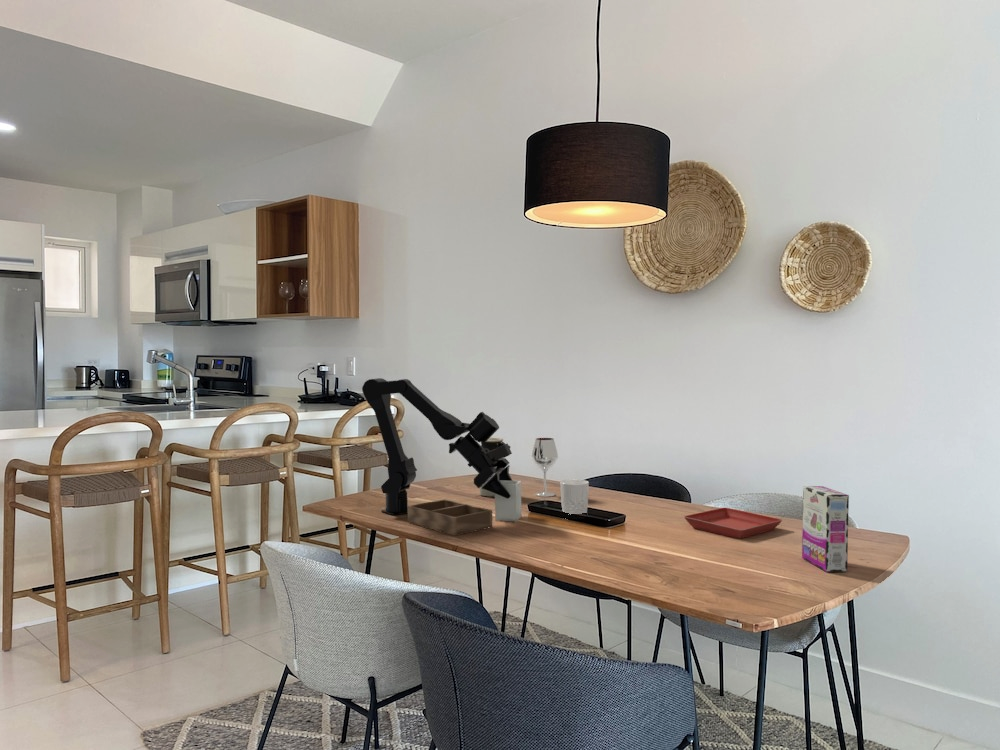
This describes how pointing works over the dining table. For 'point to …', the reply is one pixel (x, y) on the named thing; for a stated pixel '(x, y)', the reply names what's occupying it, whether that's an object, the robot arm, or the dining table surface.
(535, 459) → the wineglass
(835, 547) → the candy bar box
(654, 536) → the dining table surface
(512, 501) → the box
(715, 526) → the plant saucer
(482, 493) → the travel mug
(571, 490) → the white cup
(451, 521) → the crate
